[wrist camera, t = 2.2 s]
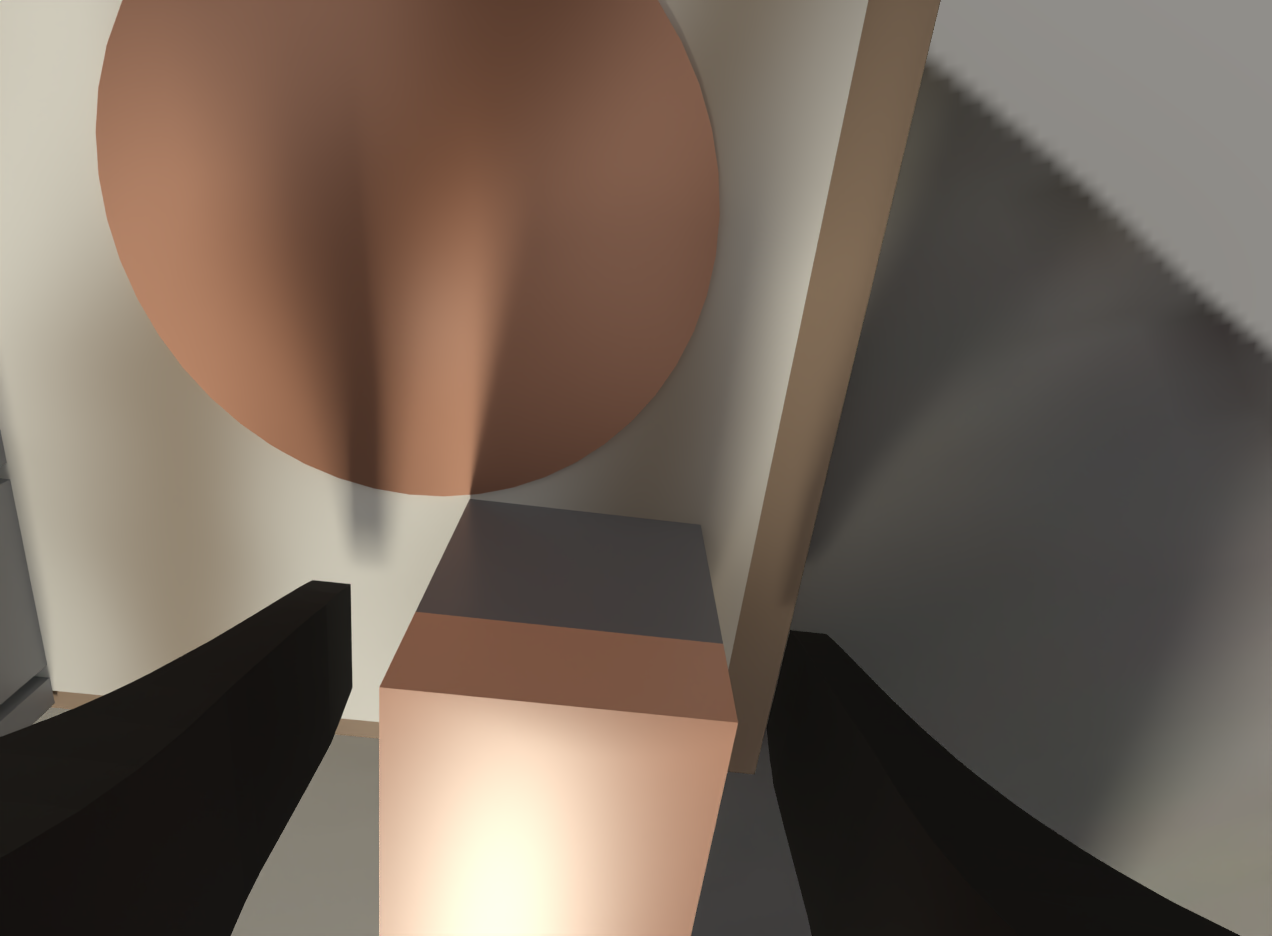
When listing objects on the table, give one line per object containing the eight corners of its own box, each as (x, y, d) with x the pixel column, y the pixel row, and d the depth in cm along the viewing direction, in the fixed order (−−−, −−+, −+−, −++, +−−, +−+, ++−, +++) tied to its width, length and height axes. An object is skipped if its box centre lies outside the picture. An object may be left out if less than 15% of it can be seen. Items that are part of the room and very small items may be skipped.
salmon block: (700, 524, 13) (738, 722, 8) (668, 709, 15) (685, 963, 10) (469, 498, 13) (378, 687, 8) (460, 688, 14) (378, 937, 10)
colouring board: (971, -192, 10) (998, -220, 9) (750, 752, 16) (755, 781, 15) (-667, -462, 9) (-785, -520, 8) (-249, 656, 15) (-295, 682, 14)
